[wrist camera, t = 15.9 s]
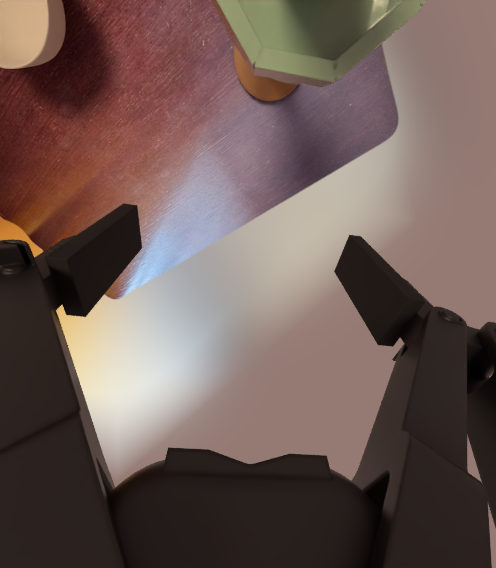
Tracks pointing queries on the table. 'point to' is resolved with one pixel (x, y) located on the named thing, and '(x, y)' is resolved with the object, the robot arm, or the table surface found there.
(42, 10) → the bowl
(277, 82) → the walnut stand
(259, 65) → the dish
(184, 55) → the table surface
